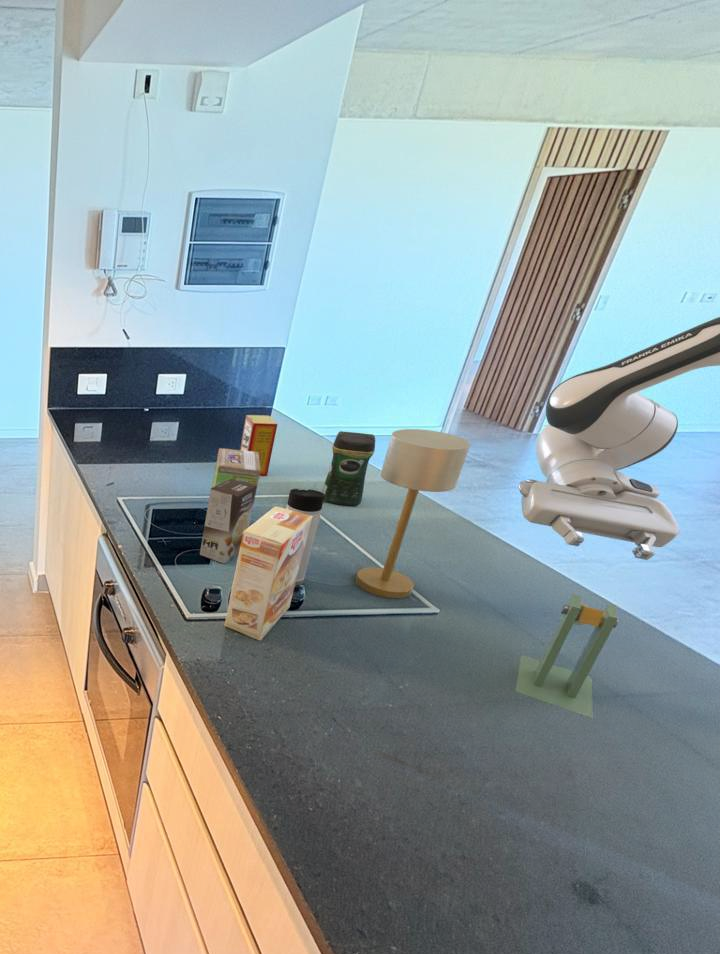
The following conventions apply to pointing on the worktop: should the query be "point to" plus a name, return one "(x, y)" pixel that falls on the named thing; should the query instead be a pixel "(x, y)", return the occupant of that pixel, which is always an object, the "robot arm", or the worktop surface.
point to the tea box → (237, 466)
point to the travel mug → (312, 506)
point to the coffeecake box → (267, 571)
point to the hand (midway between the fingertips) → (610, 549)
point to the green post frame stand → (560, 682)
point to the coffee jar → (348, 468)
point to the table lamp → (413, 493)
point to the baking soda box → (259, 438)
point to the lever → (588, 616)
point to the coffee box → (227, 519)
